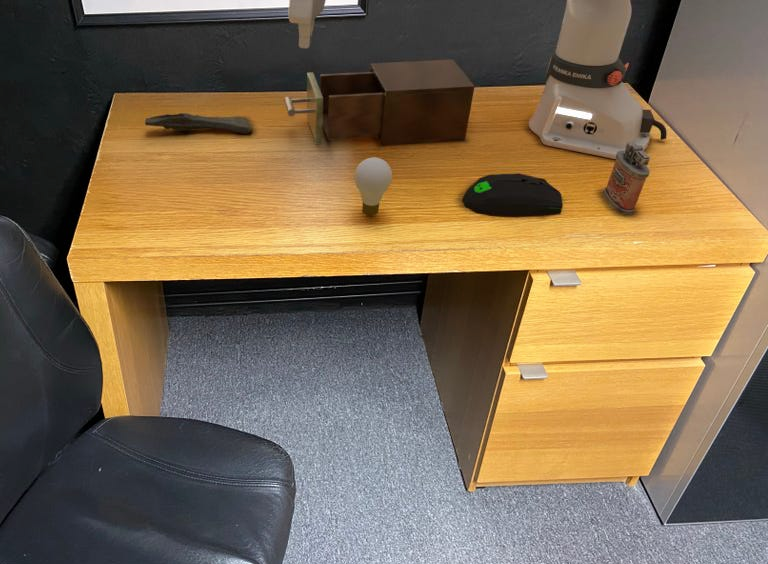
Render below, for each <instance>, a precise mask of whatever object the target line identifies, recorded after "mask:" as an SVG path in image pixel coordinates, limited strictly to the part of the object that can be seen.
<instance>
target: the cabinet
mask: <svg viewBox="0 0 768 564" xmlns="http://www.w3.org/2000/svg"><path fill="white" fill-rule="evenodd" d="M369 72H373V73H374V75H375V77H376V79H377V81H378V82H379V84H380V86H381V88H382V90H383V91H384V93H385V96H384V107H383V118H382V129H381V137H376V138H377V141H378V143H379V145H380V147H387V146H402V145H419V144H435V143H436V144H437V143H453V142H465V141H466V137H467V136H466V135H467V130H468V125H469V121H470V120H469V119H470V115H471V110H472V103H473V98H474V92H475V87H476V86H475V84H474V83H473V82H472V81H471V80H470V78H469V77H468V76H467V75H466V74H465V72H464V71H463V70H462V69H461V68H460V66H459V65H458V64H457V62H456V61H455V60H454V59H434V60H433V59H432V60H413V61H411V60H410V61H393V62H375V63H373V62H372V63H370V66H369Z"/></svg>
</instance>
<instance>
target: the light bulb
mask: <svg viewBox="0 0 768 564" xmlns="http://www.w3.org/2000/svg"><path fill="white" fill-rule="evenodd" d="M392 182H393V171H392V168H391V167H390V165H389V163H387V161H385V160H384V159H382V158H379V157H376V156H375V157H368V158H366V159H364V160H362V161H361V162H360V163H359V164H358V165H357V167H356V169H355V172H354V183H355V186H356V188H357V189H358V191H359V193H360V198H361V201H362V210H361V211H362V212H361V213H363V214H364V215H365V216H367V217H374V216H376V215H377V214H378V213H379V211H380V210H379V209H380V204H381V201H382V199H383V196H384V195H385V193H386V192H387V190H388V189H389V188H390V186H391V184H392Z"/></svg>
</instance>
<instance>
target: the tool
mask: <svg viewBox="0 0 768 564" xmlns="http://www.w3.org/2000/svg"><path fill="white" fill-rule="evenodd" d="M144 121H145V122H144V125H145V126H151V127H152V126H153V127H163V128H164V129H166V130H169V129H172V130H173V131H180V132H191V131H193V130H201V129H211V130H217V131H225V132H232V133H238V134H249V133H252V132H253V127H252V125H251V123H250V122H249V121H248V120H247V118H246V117H245V116H204V115H198V114H196V115H195V114H190V113H187V112H186V113H184V112H181V113H177V114H176V113H175V114H168V113H167V114H162V115H156V116H151V117H146V118H145V120H144Z"/></svg>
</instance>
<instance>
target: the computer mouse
mask: <svg viewBox="0 0 768 564" xmlns="http://www.w3.org/2000/svg"><path fill="white" fill-rule="evenodd" d="M461 202H462V203H463V206H464V207H465V208H467V209H469V210H470V211H472V212H474V213H476V214H480V215H486V216H492V217H503V218H504V217H505V218H524V217H525V218H527V217H543V216H544V217H546V216H554V215H561V213H562V210H563V206H564V203H563V198H562V193H561V191H559V190H558V189H557V188H555V187H554V186H553V185H552V184H550V183H549V182H548V181H547V180H546V179H545V178H542V177H536V176H532V175H529V174H522V173H519V172H517V173H493V174H488V175H485V176H481V177H479V178H478V179H477V180H476V181H475V182H474V183H472V185H470V186H469V187H468V188H467V189H466V191H465V192H464V195H463V197H462V199H461Z"/></svg>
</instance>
